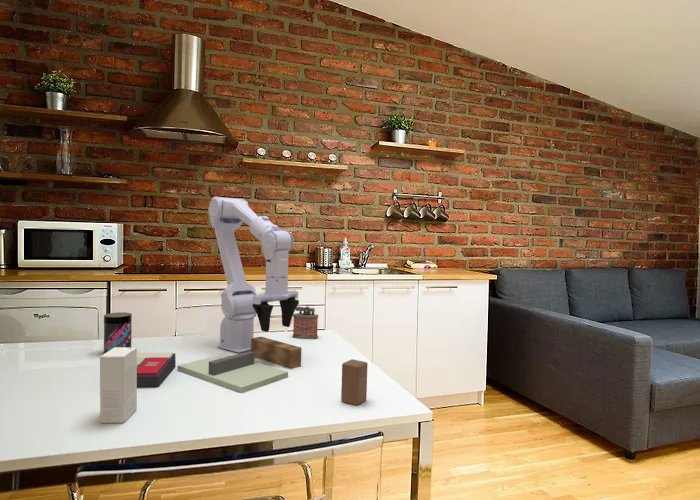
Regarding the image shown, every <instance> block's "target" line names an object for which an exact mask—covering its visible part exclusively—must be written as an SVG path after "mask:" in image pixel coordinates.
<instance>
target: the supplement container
mask: <svg viewBox="0 0 700 500" xmlns="http://www.w3.org/2000/svg"><path fill="white" fill-rule="evenodd" d="M132 315H133V313H131V312H123V311H122V312H119V311H118V312H110V313H105V314H104V315H103V354H105V353H107V352H108V351H110V350H111V349H113V348H115V347H127V348H132V338H133V337H132V332H133V331H132V328H133V327H132V325H133V324H132V320H133V317H132Z"/></svg>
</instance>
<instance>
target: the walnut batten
mask: <svg viewBox="0 0 700 500" xmlns="http://www.w3.org/2000/svg"><path fill="white" fill-rule="evenodd" d="M250 351H251V352H254V353H255V359H259V360H261V361H265V362H268V363H271V364H273V365H277V366H280V367H283V368H287V369H289V370H294V369H297V368H299V367H302V347H300V346H296V345H294V344H290V343H286V342H283V341H279V340H275V339H271V338H268V337H263V336H257V337H254V338H251V350H250Z"/></svg>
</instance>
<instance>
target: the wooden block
mask: <svg viewBox="0 0 700 500" xmlns="http://www.w3.org/2000/svg"><path fill="white" fill-rule="evenodd" d="M368 366H369V365H368V362H366V361H362V360H357V359H350V360H347V361H345V362H342V364H341V391H340V392H341V393H340V394H341V395H340V399H341V400H340V401H341V402H343V403H346V404H351V405H354V406H358V405H360V404H362V403H363V402H365V401H367V396H368V395H367V391H368V388H367V387H368Z"/></svg>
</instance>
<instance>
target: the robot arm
mask: <svg viewBox="0 0 700 500" xmlns="http://www.w3.org/2000/svg"><path fill="white" fill-rule="evenodd" d="M207 210H208V211H207V212H208V216H209V220H210V224H211V228H212V229H214V233H215V237H216V242H217V246H218V250H219V251H218V252H219V255H220V259H221V263H222V266H223V267H222V268H223V271H224V274H225V275H224V276H225V279H226V283H227V284H226V285H227V287H225V288H224V289H223V291H222V292H221V294H220V298H221V307H220V308H221V311H222V314H223V315H224V316H225V317H223V319H222V320H221V322H220V325H219V326H220V327H219V328H220V329H219V331H220V332H219V344H218V345H217V348H219V349H223V350H227V351H230V352H234V353H236V354H240V353H244V352H248V351H251V338H255V337H254V334H255V333H254V331H255V329H254V328H255V317H257V319H258V321H259V325H260V330H261V332H266V333H267V332H269V331H270V326H271V325H270V324H271V315H272V312H273V308H274V305H271V304H269V303H273V302H278V303H279V305H280V311H281V322H282V323H281V324H282V325H281V326H282V327H287V328H289V327H291V323H292V319H293V314H295V312H296V311H295V309H296V307H298V305H300V300H299V299H298V298H299V290H297V291H296V290H289V289H288V285H289V282H288V281H289V252H291V251H292V249H293V247H294V236H293V235H292V233H291V231H290V230H288V229H280V228H279V226H278V225H277V224H274V223H273V222H272V221H270V217H268V216H266V215H263V216H262V215H261V216H258V215H257V214H256V213H255V212H254V211H253V209H251V207H250V206H249V202H248V201H246V200H245V199H244V198H234V197H233V198H232V197H221V196H213V197H212V198H211V200H210V202H209V206H208V209H207ZM242 223H244V224H245V225H247V226H248V227H249V232H250V233H251V234H252V235H253V236H254V237H255V238H256V239H257V240H258V241H260V243H261V248H262V251H263V257H264V259H265V293H260V294H257V291H256V287H255V286H253V285H252V284H250V283H249V282H247V280H246V276H245V272H244V268H243V264H242V260H241V256H240V251H239V248H238V243H237V239H236V236H235V231H237V230H238V229H240V227H241V225H242Z"/></svg>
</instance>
